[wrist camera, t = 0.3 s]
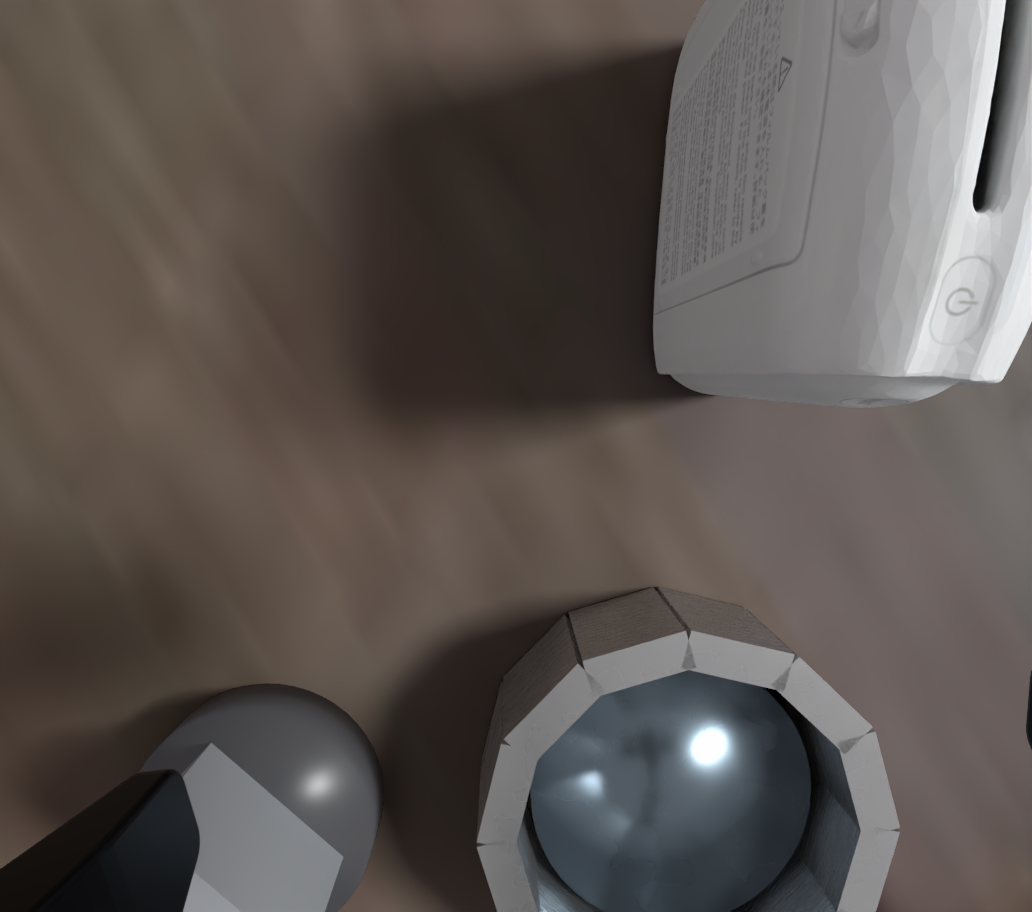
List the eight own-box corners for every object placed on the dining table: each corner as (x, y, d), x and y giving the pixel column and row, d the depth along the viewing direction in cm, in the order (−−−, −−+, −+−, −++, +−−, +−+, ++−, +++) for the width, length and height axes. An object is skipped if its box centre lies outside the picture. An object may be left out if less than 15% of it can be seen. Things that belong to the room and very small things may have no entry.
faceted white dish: (658, 981, 24) (689, 1102, 20) (415, 766, 23) (397, 847, 19) (895, 750, 23) (977, 827, 19) (655, 521, 22) (688, 550, 18)
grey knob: (280, 939, 23) (204, 1128, 17) (111, 796, 23) (-28, 941, 17) (430, 785, 23) (405, 926, 17) (262, 636, 22) (175, 728, 16)
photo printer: (782, 402, 22) (1139, 425, 10) (638, 394, 22) (816, 405, 10) (815, 42, 21) (1261, -447, 9) (666, 31, 21) (902, -479, 9)
